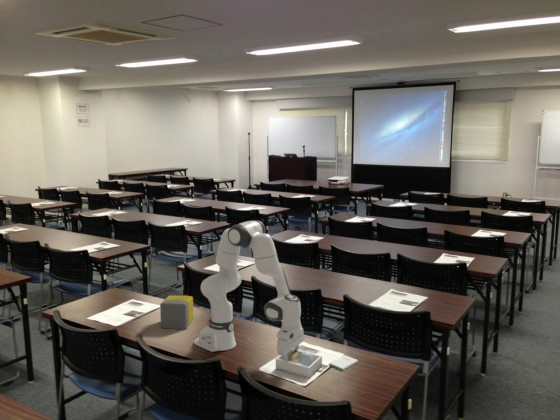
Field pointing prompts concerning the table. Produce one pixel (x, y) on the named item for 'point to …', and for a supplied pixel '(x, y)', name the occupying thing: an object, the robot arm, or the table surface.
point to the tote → (299, 365)
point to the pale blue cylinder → (306, 358)
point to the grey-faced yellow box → (176, 312)
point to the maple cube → (293, 357)
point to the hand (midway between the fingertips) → (291, 357)
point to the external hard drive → (343, 362)
